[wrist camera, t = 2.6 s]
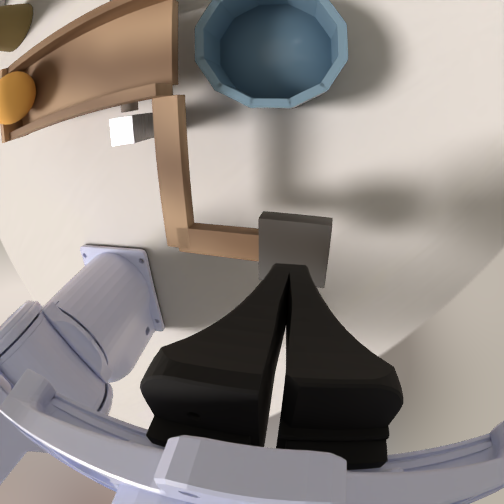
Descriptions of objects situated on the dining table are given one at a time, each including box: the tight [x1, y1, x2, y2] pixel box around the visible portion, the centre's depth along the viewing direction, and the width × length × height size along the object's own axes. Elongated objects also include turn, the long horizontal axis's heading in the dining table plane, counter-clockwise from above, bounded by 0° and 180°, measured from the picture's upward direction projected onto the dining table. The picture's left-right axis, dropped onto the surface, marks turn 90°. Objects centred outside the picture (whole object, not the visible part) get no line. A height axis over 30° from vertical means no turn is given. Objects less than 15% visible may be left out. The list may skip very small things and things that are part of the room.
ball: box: [0, 71, 36, 125], centre depth 12 cm, size 4×4×4 cm
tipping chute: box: [0, 0, 332, 288], centre depth 13 cm, size 16×23×3 cm
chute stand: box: [109, 0, 154, 146], centre depth 14 cm, size 11×2×6 cm, turn 1°
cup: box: [195, 0, 348, 109], centre depth 13 cm, size 8×8×4 cm
